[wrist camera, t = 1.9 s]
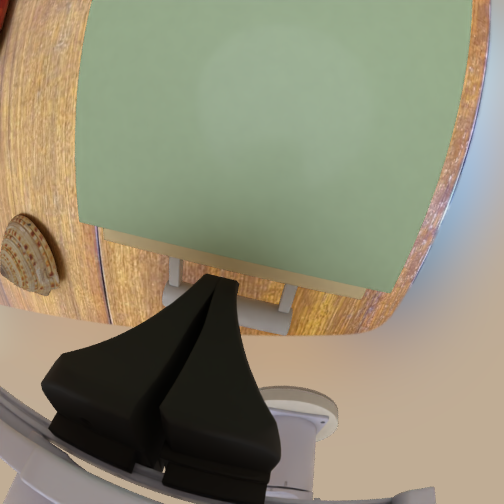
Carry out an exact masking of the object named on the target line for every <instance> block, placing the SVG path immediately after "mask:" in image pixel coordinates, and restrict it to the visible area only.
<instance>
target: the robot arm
mask: <svg viewBox="0 0 504 504" xmlns="http://www.w3.org/2000/svg"><path fill="white" fill-rule="evenodd" d="M238 288H239V283H238V282H237V281H235V280H231V279H227V278H223V277H218V276H214V275H210V274H205V275H203V276H202V277H201V278H200V279H199V280H198V281H197V282H196V283H195V284H194V285H193V286H192V287H190V288H189V289H188V290H187V291H186V292H185V293H183V294H182V295H181V296H180V297H179V298H177V299H176V300H175V301H174V302H172V303H171V304H170V305H168V306H167V307H166V308H164V309H163V310H161V311H160V312H159V313H157V314H156V315H154V316H153V317H151V318H150V319H148V320H146V321H145V322H143V323H141V324H140V325H138V326H136V327H134V328H132V329H130V330H128V331H126V332H125V333H122V334H120V335H118V336H116V337H114V338H111V339H109V340H106V341H103V342H101V343H98V344H95V345H92V346H89V347H86V348H83V349H79V350H75V351H71V352H67V353H63V354H62V355H61V356H60V357H59V358H58V359H57V360H56V362H55V363H54V365H53V366H52V367H51V369H50V370H49V372H48V373H47V375H46V376H45V378H44V379H43V381H42V382H41V386H42V390H43V392H44V394H45V395H46V397H47V398H48V400H49V401H50V403H51V404H52V405H53V407H54V408H55V410H56V411H57V413H56V415H55V417H54V419H53V420H52V422H51V421H50V420H48V419H47V418H45V417H43V416H42V415H40V414H39V413H37V412H35V411H34V410H33V409H31V408H30V407H28V406H27V405H25V404H24V403H22V402H21V401H20V400H18V399H16V398H15V397H14V396H13V395H11V394H10V393H9V392H7V391H6V390H5V389H3V388H2V387H1V386H0V458H1V459H2V460H3V461H5V462H6V463H7V464H8V465H9V466H10V467H12V468H13V469H14V470H15V471H17V472H18V473H17V475H16V477H15V479H14V481H13V483H12V485H11V487H10V489H9V491H8V494H7V496H6V498H5V500H4V502H3V504H163V503H161V502H158V501H155V500H152V499H150V498H147V497H144V496H142V495H139V494H137V493H134V492H132V491H129V490H127V489H125V488H122V487H120V486H117V485H115V484H113V483H111V482H108V481H106V480H104V479H102V478H100V477H98V476H96V475H93V474H91V473H89V472H87V471H86V470H85V469H83V468H82V467H80V466H79V465H78V464H76V463H75V462H74V461H73V460H72V459H71V458H70V457H69V456H68V454H66V453H65V452H63V451H62V450H60V449H59V448H57V447H56V446H55V445H57V446H58V447H60V448H62V449H63V450H65V451H67V452H68V453H70V454H72V455H74V456H76V457H78V458H79V459H81V460H83V461H85V462H87V463H89V464H91V465H93V466H95V467H97V468H99V469H101V470H104V471H105V472H108V473H110V474H112V475H114V476H117V477H119V478H121V479H124V480H126V481H129V482H131V483H134V484H136V485H139V486H141V487H144V488H147V489H150V490H152V491H155V492H158V493H161V494H164V495H167V496H171V497H174V498H178V499H181V500H184V501H188V502H192V503H196V504H436V500H435V488H434V487H427V488H422V489H415V490H409V491H406V492H402V493H399V494H397V495H395V496H394V497H393V498H383V499H372V500H371V499H370V500H351V501H321V500H320V498H314V500H313V492H312V488H313V476H314V460H315V443H316V435H317V434H318V432H319V431H320V430H321V429H322V428H323V427H324V426H325V424H326V423H327V422H328V421H329V417H328V416H325V415H316V414H309V413H301V412H295V411H288V410H282V409H276V408H271V407H267V405H266V403H265V401H264V399H263V397H262V395H261V393H260V391H259V389H258V386H257V384H256V382H255V379H254V377H253V375H252V372H251V370H250V367H249V364H248V361H247V358H246V354H245V351H244V348H243V343H242V339H241V334H240V329H239V322H238V313H237V293H238ZM49 441H50V442H52V443H53V444H55V445H53V444H52V443H50V442H49ZM164 466H165V469H166V470H165V473H162V472H163V469H164Z"/></svg>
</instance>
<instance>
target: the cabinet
mask: <svg viewBox="0 0 504 504" xmlns="http://www.w3.org/2000/svg"><path fill="white" fill-rule="evenodd" d="M471 20H472V0H92V3H91V7H90V11H89V16H88V21H87V26H86V31H85V36H84V42H83V48H82V55H81V62H80V70H79V80H78V90H77V104H76V126H75V166H76V188H77V202H78V214H79V222H82V223H86V224H90V225H94V226H98V227H102V228H106V229H110V230H115V231H119V232H123V233H127V234H131V235H135V236H139V237H144V238H148V239H152V240H156V241H160V242H165V243H169V244H173V245H177V246H182V247H186V248H190V249H194V250H199V251H203V252H207V253H212V254H216V255H220V256H224V257H229V258H233V259H237V260H242V261H246V262H251V263H255V264H259V265H264V266H268V267H273V268H277V269H281V270H286V271H290V272H295V273H299V274H304V275H308V276H313V277H317V278H322V279H326V280H331V281H335V282H340V283H344V284H349V285H353V286H358V287H363V288H367V289H372V290H376V291H381V292H386V293H391V291H392V289H393V287H394V285H395V283H396V281H397V279H398V277H399V275H400V273H401V271H402V269H403V267H404V265H405V263H406V260H407V258H408V256H409V254H410V252H411V249H412V247H413V245H414V242H415V240H416V238H417V235H418V233H419V231H420V228H421V226H422V223H423V221H424V218H425V216H426V213H427V211H428V208H429V205H430V203H431V200H432V197H433V194H434V191H435V189H436V186H437V183H438V180H439V177H440V174H441V171H442V168H443V164H444V161H445V158H446V155H447V151H448V148H449V144H450V141H451V137H452V133H453V129H454V125H455V121H456V117H457V113H458V109H459V104H460V99H461V94H462V89H463V84H464V78H465V72H466V66H467V59H468V51H469V43H470V33H471Z"/></svg>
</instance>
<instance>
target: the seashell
mask: <svg viewBox="0 0 504 504" xmlns="http://www.w3.org/2000/svg"><path fill="white" fill-rule="evenodd" d="M0 273H1V274H2V275H3V276H4V277H6V278H7V279H8V280H9V281H10V282H12V283H14V284H15V285H16V286H18V287H20V288H23V289H24V290H27V291H29V292H35V293H38V294H41V295H44V296H48V295H49V293H50V291H51V289H56V288H58V287H59V283H60V282H59V276H58V273H57V270H56V264H55V260H54V258H53V255H52V253H51V250H50V248H49V246H48V244H47V242H46V240H45V239H44V237H43V235H42V234H41V232H40V231H39V230H38V229H37V227H36V226H35V225H34V224H33V222H32V221H31V220H29V219H28V218H27V217H25V216H23V215H17V216H15V217H14V218H13V219H12V220H11V221H10V223H9V224H8V226H7V228H6V231H5V234H4V239H3V242H2V247H1V251H0Z"/></svg>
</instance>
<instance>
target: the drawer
mask: <svg viewBox="0 0 504 504" xmlns="http://www.w3.org/2000/svg"><path fill="white" fill-rule="evenodd" d="M103 234H104V240H107V241H111V242H115V243H118V244H122V245H126V246H130V247H134V248H138V249H142V250H146V251H150V252H154V253H158V254H162V255H166V256H169V280H168V281H167V283H166V285H165V288H164V291H163V297H162V302H163V305H164V306H168V305H170V304H171V303H172V302H174V301H175V300H176V299H177V298H179V297H180V296H181V295H182V294H183V293H185V292H186V291H187V290H188V289H189V288H190V287H192V286H193V285H194V284H190V283H186V282H182V270H183V260H186V261H190V262H194V263H198V264H202V265H207V266H211V267H215V268H219V269H223V270H228V271H232V272H236V273H241V274H245V275H249V276H254V277H258V278H262V279H267V280H271V281H276V282H280V283H285V285H284V289H283V292H282V295H281V299H280V302H279V305H278V304H274V303H269V302H265V301H260V300H256V299H251V298H247V297H243V296H239V295H237V313H238V322H239V326H244V327H248V328H252V329H257V330H261V331H266V332H270V333H275V334H280V335H287V333H288V330H289V327H290V324H291V319H292V312H293V310H292V308H291V306H292V303H293V300H294V297H295V294H296V290H297V287H303V288H307V289H312V290H316V291H321V292H326V293H330V294H335V295H340V296H345V297H349V298H354V299H359V300H361V299H362V297H363V295H364V293H365V291H366V289H367V288H363V287H358V286H353V285H349V284H344V283H340V282H335V281H331V280H326V279H322V278H317V277H313V276H308V275H304V274H299V273H295V272H290V271H286V270H281V269H277V268H273V267H268V266H264V265H259V264H255V263H251V262H246V261H242V260H237V259H233V258H229V257H224V256H220V255H216V254H212V253H207V252H203V251H199V250H194V249H190V248H186V247H182V246H177V245H173V244H169V243H165V242H160V241H156V240H152V239H148V238H144V237H139V236H135V235H131V234H127V233H123V232H119V231H115V230H110V229H106V228H103Z"/></svg>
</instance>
